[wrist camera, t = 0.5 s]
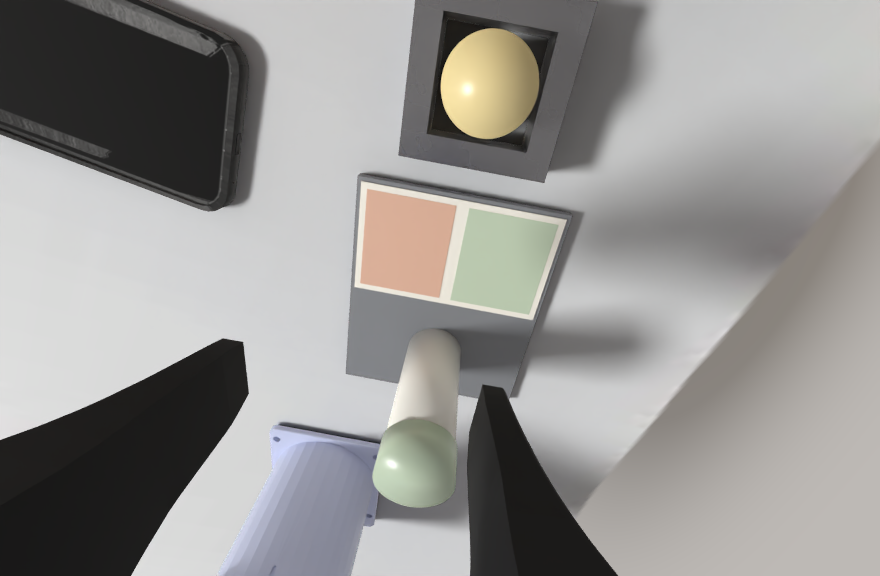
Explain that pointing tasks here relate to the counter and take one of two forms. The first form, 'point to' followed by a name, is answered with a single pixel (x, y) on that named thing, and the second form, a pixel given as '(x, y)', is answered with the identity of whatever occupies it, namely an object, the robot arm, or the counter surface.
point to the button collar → (567, 26)
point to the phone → (126, 93)
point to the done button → (490, 83)
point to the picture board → (447, 278)
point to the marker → (422, 425)
